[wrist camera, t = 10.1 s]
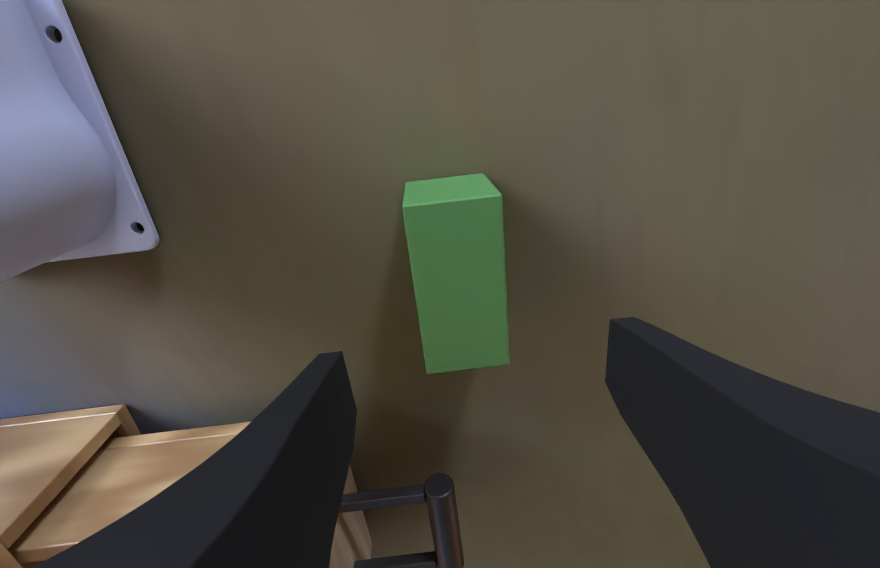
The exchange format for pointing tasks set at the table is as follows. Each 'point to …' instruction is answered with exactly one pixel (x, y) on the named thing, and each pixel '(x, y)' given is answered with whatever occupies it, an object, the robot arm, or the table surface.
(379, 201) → the table surface
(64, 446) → the cabinet
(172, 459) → the drawer
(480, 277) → the green block
